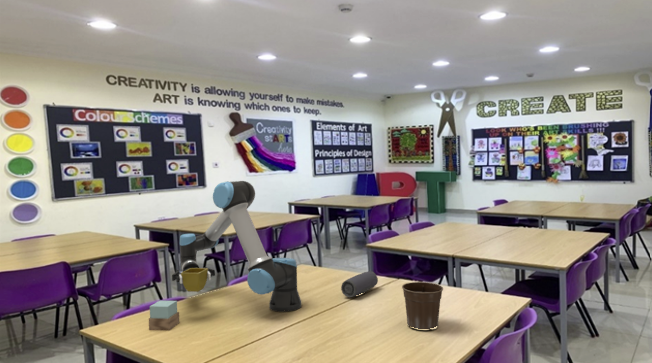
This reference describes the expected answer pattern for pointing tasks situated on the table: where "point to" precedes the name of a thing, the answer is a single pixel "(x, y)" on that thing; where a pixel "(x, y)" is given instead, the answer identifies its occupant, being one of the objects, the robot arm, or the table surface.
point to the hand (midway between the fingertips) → (195, 278)
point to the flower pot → (194, 279)
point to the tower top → (163, 309)
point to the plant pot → (422, 304)
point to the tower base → (164, 323)
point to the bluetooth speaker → (359, 284)
